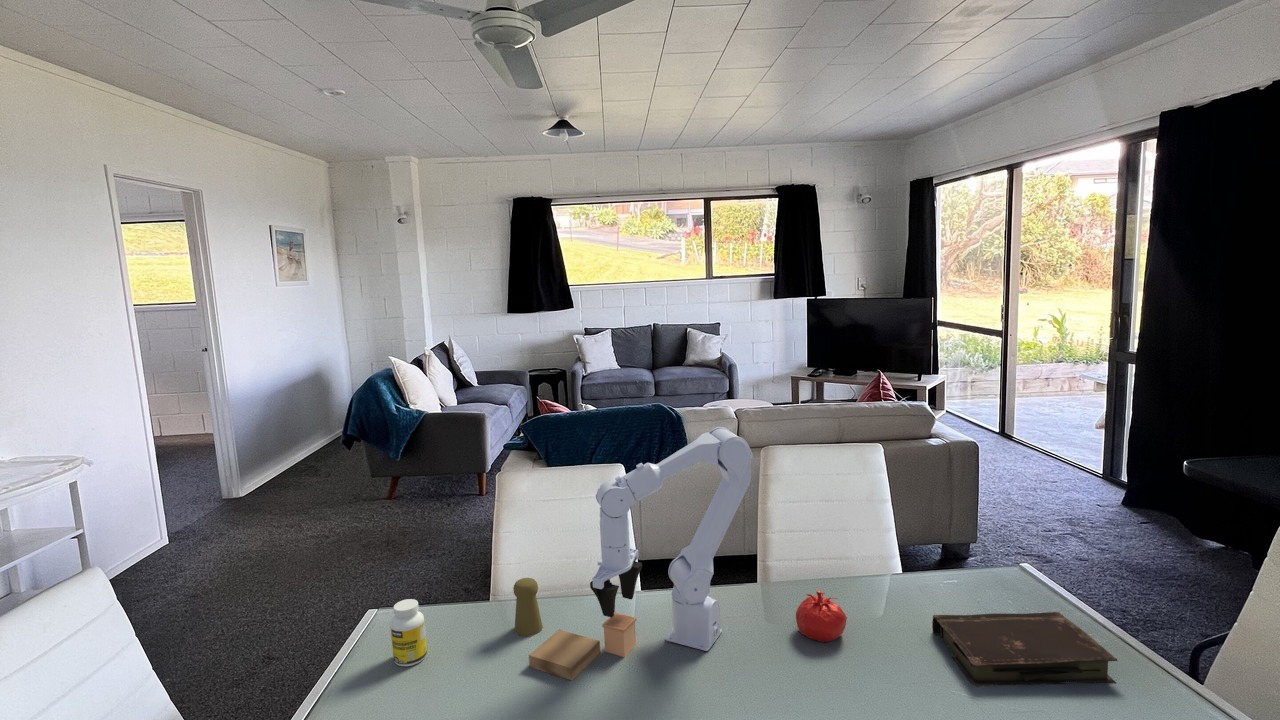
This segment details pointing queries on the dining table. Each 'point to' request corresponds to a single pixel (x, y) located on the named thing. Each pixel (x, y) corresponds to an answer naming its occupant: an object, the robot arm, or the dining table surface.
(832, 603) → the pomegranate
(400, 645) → the pill bottle
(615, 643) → the square wooden stamp
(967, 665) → the diary
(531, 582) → the olive pawn
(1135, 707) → the dining table surface
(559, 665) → the walnut block
